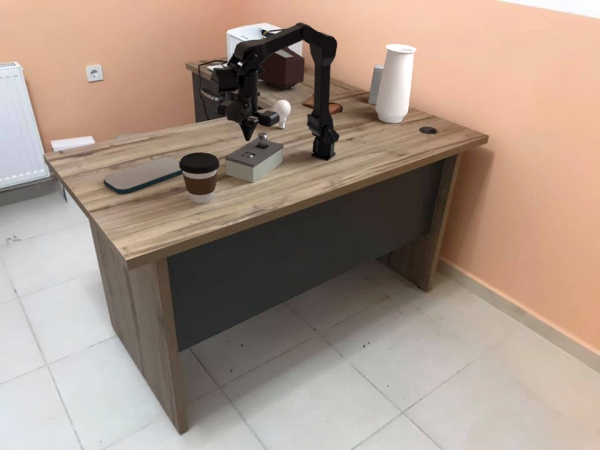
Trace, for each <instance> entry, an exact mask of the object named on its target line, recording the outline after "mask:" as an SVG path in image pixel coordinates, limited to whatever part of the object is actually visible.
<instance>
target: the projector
mask: <svg viewBox="0 0 600 450" xmlns="http://www.w3.org/2000/svg"><path fill="white" fill-rule="evenodd" d="M285 29H286V28H279V29H271V30H266V31H264V32H263V35H262V39H263V38H265V35H266V34H267V33H275V32H280V31H282V30H285ZM289 47H290V46H288V47H286V48H284V49H282V50H279V51H277V52H275V53H272V54H271V55H269V56H268V57H267V59H266V60H265V61H264V62H262V63H261V64H259V65H260V67H261V68H262V69H263V70H264V71H265V73H261V74H258V81H259V80H260V81H263V82H264V83H266V86H269V85H270V84H271V85H273V86H275V87H277V88H280V91H283V89H287V88H288V89H289V90H291V88H294V87H295V86H296V85H298V84H299V83H303V82H304V80H305V78H304V77H305V61H306V60H305V57H302V55H299V54H298V53H296V52H295V51H293V50H292V49H290V48H289Z"/></svg>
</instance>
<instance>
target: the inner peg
mask: <svg viewBox="0 0 600 450" xmlns="http://www.w3.org/2000/svg"><path fill="white" fill-rule="evenodd" d="M257 138H258V148H261V149H266V148H267V140H268V134H267V132H259V133H257Z"/></svg>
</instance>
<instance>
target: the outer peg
mask: <svg viewBox="0 0 600 450" xmlns="http://www.w3.org/2000/svg"><path fill="white" fill-rule="evenodd" d="M244 157H247V158H252V157H253V154H252V153H245V154H244Z"/></svg>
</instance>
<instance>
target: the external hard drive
mask: <svg viewBox="0 0 600 450" xmlns="http://www.w3.org/2000/svg"><path fill="white" fill-rule="evenodd" d="M179 162H180V161H178V160H177V159H175V158H172V157H169V156H168V157H167V156H165V157H160V158H159V157H158V158H155V159H153V160H150V161H147V162H143V163H140V164H139V165H135V166H131V167H129V168H128V167H127V168H126V169H122V170H120V171H116V172H114V173H110V174H108V175H107V176H105V177H104V178H103V183H104V186H105V187H107V188H108V189H109V190H111V191H113V192H114V193H116V194H118V195H126V194H132V193H135V192H137V191H140V190H142V189H146V188H149V187H151V186H154V185H156V184H159V183H162V182H165V181H167V180H171V179H173V178H175V177H178V176H181V175H183V171H182V170H181V169H180V168H179Z"/></svg>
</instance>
